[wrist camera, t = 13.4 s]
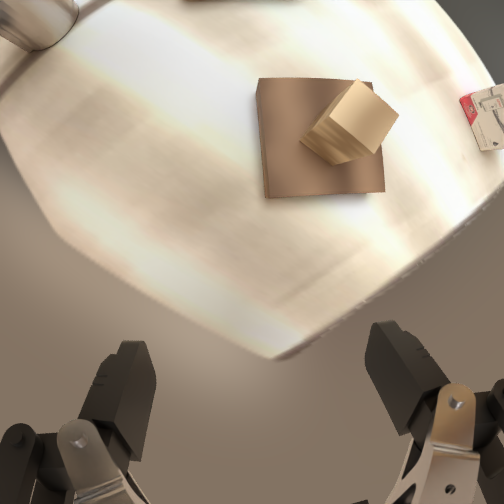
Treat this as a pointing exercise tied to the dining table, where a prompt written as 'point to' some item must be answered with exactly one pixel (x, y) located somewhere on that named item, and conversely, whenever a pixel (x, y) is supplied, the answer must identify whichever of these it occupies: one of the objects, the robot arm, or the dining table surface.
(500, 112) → the ink box
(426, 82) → the dining table surface
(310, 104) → the walnut slab
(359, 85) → the oak post
